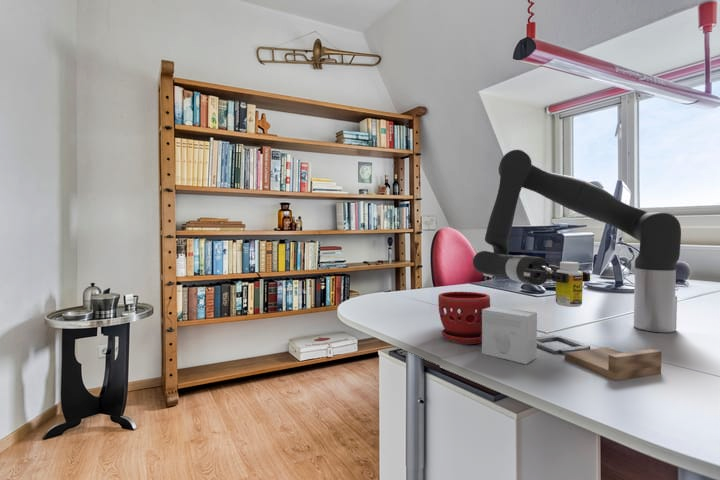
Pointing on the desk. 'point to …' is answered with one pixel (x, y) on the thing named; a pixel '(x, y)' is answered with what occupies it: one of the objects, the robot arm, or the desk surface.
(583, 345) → the socket collar
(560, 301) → the supplement bottle
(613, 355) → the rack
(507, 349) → the skincare box
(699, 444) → the desk surface
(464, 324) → the plant pot
